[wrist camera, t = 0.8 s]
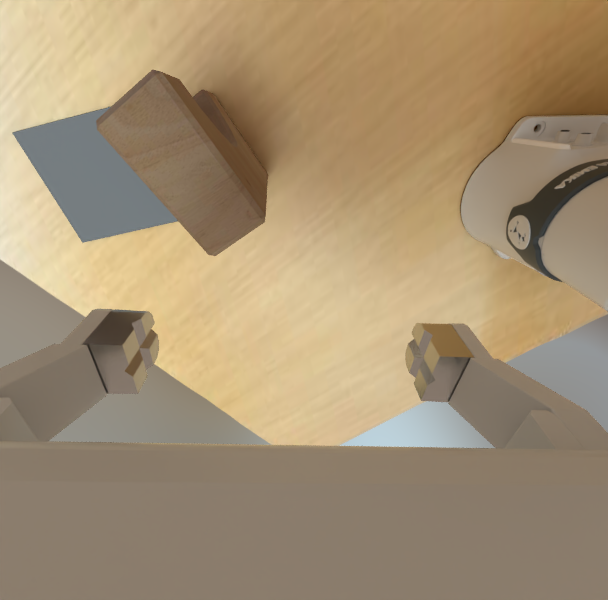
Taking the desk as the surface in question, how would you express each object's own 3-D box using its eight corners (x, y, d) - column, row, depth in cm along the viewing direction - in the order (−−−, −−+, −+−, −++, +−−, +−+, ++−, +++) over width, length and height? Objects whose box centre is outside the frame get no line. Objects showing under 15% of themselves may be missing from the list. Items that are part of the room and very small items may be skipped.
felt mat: (174, 90, 35) (173, 90, 35) (218, 211, 42) (217, 212, 42) (14, 132, 37) (12, 132, 36) (83, 241, 44) (82, 242, 44)
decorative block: (174, 120, 36) (87, 122, 19) (213, 89, 35) (158, 62, 18) (234, 201, 41) (208, 261, 24) (269, 177, 40) (269, 221, 23)
